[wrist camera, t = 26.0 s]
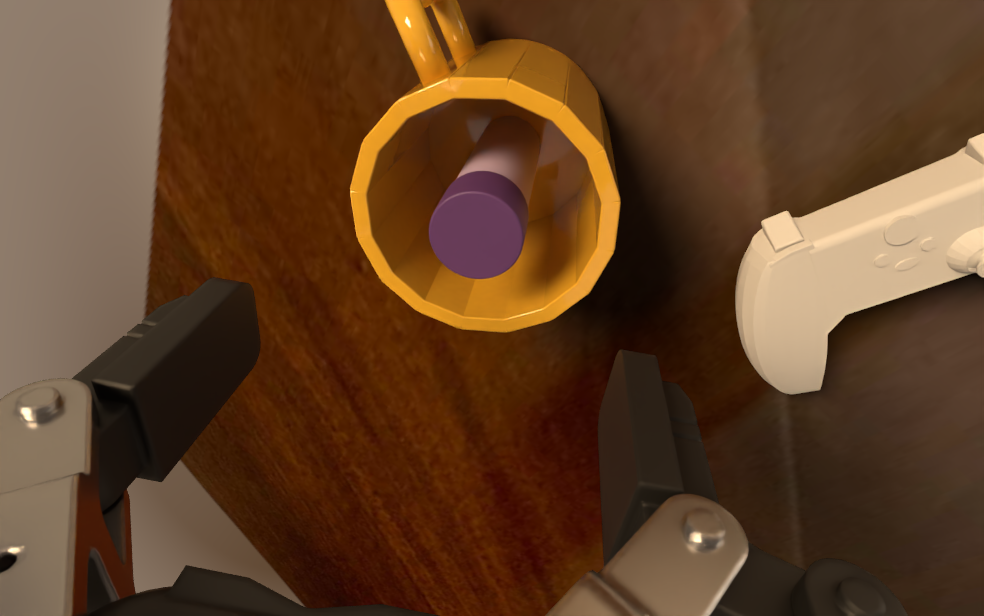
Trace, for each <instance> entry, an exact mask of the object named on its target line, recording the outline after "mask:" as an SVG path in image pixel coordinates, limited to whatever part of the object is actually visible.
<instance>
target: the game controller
mask: <svg viewBox="0 0 984 616" xmlns="http://www.w3.org/2000/svg"><path fill="white" fill-rule="evenodd" d="M761 224H762V229H761V230H760V231H758V232H757V233H756V234H755V236H754V237H753V238H752V240H751V243H750V245H749V247H748V249H747V251H746V252H745V254H744V257H743V260H742V262H741V265H740V268H739V272H738V276H737V283H736V292H735V306H736V317H737V324H738V330H739V335H740V339H741V342H742V345H743V348H744V350H745V353H746V355H747V357H748V359H749V360H750V362H751V364H752V365H753V367H754V368H755V369H756V371H757V372H758V373H759V374H760V376H761V377H762V378H763V379H764V380H765V381H766V382H767V383H769V384H771V385H772V386H774V387H775V388H777V389H778V390H779V391H781V392H783V393H786V394H799V393H805V392H811V391H816V390H820V389H821V385H822V380H823V376H824V372H825V366H826V358H827V339H828V333H829V332H830V331H831V330H832V329H833V328H834V327H835V326H836V325H837V324H838V323H839V322H840V321H841V320H842V319H843V318H844V316H845V315H847V314H850V313H853V312H856V311H860V310H863V309H866V308H869V307H872V306H875V305H878V304H881V303H884V302H887V301H890V300H893V299H896V298H899V297H902V296H905V295H908V294H911V293H914V292H917V291H920V290H924V289H927V288H930V287H933V286H936V285H939V284H942V283H945V282H948V281H951V280H954V279H957V278H960V277H963V276H966V275H969V274H972V273H977V274H978V275H979V276H981V277H984V133H983V134H980V135H978V136H975V137H973V138H970V139H969V140H968V143H967V146H966V147H964V148H962V149H961V150H960V151H958V152H957V153H956V154H954V155H952V156H949V157H947V158H944V159H942V160H940V161H937V162H935V163H932V164H930V165H927V166H925V167H923V168H920V169H918V170H915V171H913V172H910V173H908V174H905V175H903V176H901V177H898V178H896V179H893V180H891V181H888V182H886V183H884V184H881V185H879V186H876V187H874V188H871V189H869V190H866V191H864V192H862V193H859V194H857V195H854V196H852V197H849V198H847V199H845V200H842V201H840V202H837V203H835V204H832V205H830V206H827V207H825V208H823V209H820V210H818V211H815V212H813V213H810V214H808V215H806V216H803V217H801V218H792V217H791V215H790V213H789V212H788V211H784V212H782V213H779V214H777V215H774V216H772V217H770V218H767V219H765V220H762V221H761Z"/></svg>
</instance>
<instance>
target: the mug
mask: <svg viewBox="0 0 984 616" xmlns="http://www.w3.org/2000/svg"><path fill="white" fill-rule="evenodd" d="M385 3H386V5H387V7H388V9H389V12H390V14H391V16H392V18H393V20H394V23H395V25H396V27H397V29H398V32H399V34H400V36H401V38H402V41H403V43H404V45H405V47H406V49H407V52H408V54H409V56H410V58H411V61H412V63H413V65H414V67H415V70H416V72H417V74H418V76H419V78H420V81H421V83H420V84H418V85H417V86H416V87H414V88H413V89H412V90H410V91H409V92H408V93H406V94H405V95H404V96H402V97H401V98H400V99H399V100H397V101H396V102H395V103H394V104H393V105H392V106H391V108H390V109H389V110H388V111H387V112H386V114H385V115H384V116H383V117H382V118H381V119H380V121H379V122H378V123H377V124H376V125H375V127H374V128H373V129H372V130H371V131H370V132H369V134H368V135H367V136H366V137H365V138H364V141H363V142H362V145H361V148H360V152H359V156H358V160H357V163H356V167H355V171H354V175H353V178H352V182H351V186H350V196H351V202H352V209H353V216H354V222H355V229H356V235H357V238H358V241H359V243H360V245H361V246H362V248H363V250H364V252H365V253H366V255H367V257H368V259H369V260H370V262H371V264H372V266H373V267H374V269H375V271H376V273H377V274H378V276H379V278H380V279H382V282H383V283H385V284H386V285H387V286H388V287H389V288H390V289H392V290H393V291H394V292H395V293H396V294H397V295H398V296H400V297H401V298H402V299H403V300H404V301H405V302H407V303H408V304H409V305H410V306H411V307H412V308H414V309H415V310H416V311H417V310H418V312H420V313H422V314H425V315H427V316H429V317H432V318H434V319H437V320H439V321H442V322H444V323H446V324H449V325H451V326H454V327H456V328H459V329H460V328H461V329H463V330H477V331H491V332H511V331H515V330H519V329H522V328H526V327H530V326H534V325H537V324H541V323H545V322H548V321H551V320H553V319H555V318H556V317H557V316H559V315H560V314H562V313H563V312H564V311H566V310H567V309H568V308H570V307H571V306H573V305H574V304H575V303H577V302H578V301H579V300H581V299H582V298H584V297H585V296H586V295H588V294H589V292H590V291H591V290H592V288H593V287H594V285H595V283H596V282H597V280H598V279H599V277H600V275H601V274H602V272H603V270H604V269H605V267H606V265H607V264H608V262H609V260H610V259H611V257H612V255H613V254H614V250H615V246H616V238H617V230H618V222H619V213H620V205H621V201H620V193H619V187H618V181H617V175H616V169H615V163H614V157H613V151H612V145H611V139H610V133H609V128H608V124H607V121H606V118H605V115H604V110H603V106H602V104H601V101H600V98H599V95H598V92H597V91H596V89H595V88H594V86H593V84H592V83H591V81H590V80H589V79H588V77H587V76H586V75H585V73H584V72H583V71H582V70H581V69H580V68H579V67H578V66H577V65H576V64H575V63H574V62H573V61H572V60H570V59H569V58H568V57H566V56H565V55H564V54H562V53H560V52H558V51H557V50H555V49H553V48H551V47H548V46H546V45H543V44H541V43H537V42H533V41H529V40H520V39H504V40H496V41H491V42H490V41H489V42H487V43H484V44H481V45H479V46H476V47H475V45H474V42H473V39H472V37H471V34H470V32H469V29H468V27H467V24H466V22H465V19H464V16H463V14H462V11H461V9H460V6H459V4H458V1H457V0H385ZM429 6H431V7H432V9H433V11H434V14H435V16H436V19H437V21H438V24H439V26H440V28H441V31H442V33H443V36H444V38H445V40H446V43H447V45H448V48H449V50H450V52H451V55H452V57H453V59H451V60H450V61H449V62H446V59H445V57H444V55H443V52H442V50H441V48H440V45H439V43H438V40H437V38H436V36H435V33H434V31H433V29H432V26H431V24H430V21H429V19H428V17H427V14H426V12H425V9H424V8H426V7H429ZM504 116H515V117H519V118H522V119H524V120H526V121H527V122H528V123H530V124H531V125H532V126H533V128H534V129H535V130H536V132H537V134H538V136H539V140H540V154H539V159H538V164H537V168H536V173H535V178H534V182H533V187H532V192H531V196H530V201H529V206H528V211H529V218H528V225H527V230H526V234H525V239H524V244H523V248H522V252H521V254H520V256H519V258H518V260H517V261H516V262H515V264H514V265H513V266H512V267H511V268H510V269H508V270H507V271H506V272H504V273H502V274H500V275H498V276H495V277H492V278H487V279H472V278H467V277H464V276H461V275H458V274H456V273H454V272H453V271H451V270H450V269H448V268H447V267H446V266H445V265H444V264H443V263H442V262H441V261H440V260H439V259H438V258H437V256H436V254H435V253H434V251H433V249H432V246H431V243H430V239H429V223H430V220H431V217H432V214H433V212H434V210H435V209H436V207H437V205H438V204H439V202H440V200H441V199H442V197H443V195H444V193H445V192H446V190H447V189H448V187H449V186H450V185H451V184H452V182H454V181H455V180H456V179H457V177H458V175H459V173H460V172H461V170H462V168H463V166H464V165H465V163H466V161H467V160H468V158H469V156H470V154H471V153H472V151H473V149H474V147H475V146H476V144H477V142H478V140H479V139H480V137H481V135H482V133H483V132H484V130H485V128H486V127H487V126H488V125H489V124H490V123H491V122H492V121H494V120H496V119H498V118H500V117H504Z"/></svg>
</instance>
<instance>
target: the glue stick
mask: <svg viewBox="0 0 984 616" xmlns="http://www.w3.org/2000/svg"><path fill="white" fill-rule="evenodd" d="M539 154H540V140H539V136H538V134H537V132H536V130H535V129H534V128H533V126H532V125H531V124H530V123H528V122H527V121H526V120H524V119H522V118H519V117H515V116H504V117H500V118H498V119H496V120H494V121H492V122H491V123H490V124H489V125H488V126H487V127H486V128H485V130H484V132H483V133H482V135H481V137H480V139H479V140H478V142H477V144H476V146H475V147H474V149H473V151H472V153H471V154H470V156H469V158H468V160H467V161H466V163H465V165H464V166H463V168H462V170H461V172H460V173H459V175H458V177H457V179H456V180H455V181H454V182H452V184H451V185H450V186H449V187H448V189H447V190H446V192H445V193H444V195H443V197H442V199H441V200H440V202H439V204H438V205H437V207H436V209H435V210H434V212H433V214H432V217H431V220H430V223H429V239H430V243H431V246H432V249H433V251H434V253H435V254H436V256H437V258H438V259H439V260H440V261H441V262H442V263H443V264H444V265H445V266H446V267H447V268H448V269H450V270H451V271H453V272H454V273H456V274H458V275H461V276H464V277H467V278H472V279H487V278H492V277H495V276H498V275H500V274H502V273H504V272H506V271H507V270H508V269H510V268H511V267H512V266H513V265H514V264H515V262H516V261H517V260H518V258H519V256H520V254H521V252H522V248H523V244H524V239H525V234H526V230H527V225H528V218H529V211H528V206H529V201H530V196H531V192H532V187H533V182H534V178H535V173H536V168H537V164H538V159H539Z"/></svg>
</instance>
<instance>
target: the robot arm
mask: <svg viewBox="0 0 984 616" xmlns="http://www.w3.org/2000/svg"><path fill="white" fill-rule="evenodd" d="M259 351H260V334H259V327H258V319H257V312H256V305H255V297H254V291H253V288H252V287H251V285H250V284H248V283H244V282H238V281H232V280H226V279H221V278H215V277H214V278H210V279H208V280H207V281H206V282H205V283H204V284H202V285H201V286H200V287H199V288H198V289H197V290H195V291H194V292H193V293H192V294H191V295H190V296H185V295H184V296H182V297H179V298H177V299H175V300H173V301H170V302H168V303H166V304H164V305H162V306H159V307H158V308H157V309H156V310H155V311H153V312H152V313H151V314H150V315H148V316H147V317H146V318H145V319H144V320H142V324H138V325H137V326H135V327H134V328H133V329H132V330H130V331H129V332H128V333H127V336H123V337H122V338H121V339H119V340H118V341H117V342H116V343H114V344H113V345H112V346H111V347H110V348H108V349H107V350H106V351H105V352H103V353H102V354H101V355H100V356H99V357H97V358H96V359H95V360H94V361H93V362H91V363H90V364H89V365H88V366H87V367H85V368H84V369H83V370H82V371H81V372H79V373H78V374H77V375H76V376H74V377H73V378H72V379H65V378H58V379H49V380H43V381H39V382H34V383H32V384H28V385H26V386H23V387H21V388H18V389H16V390H14V391H12V392H11V393H9V394H7V395H6V396H4V397H3V398H1V399H0V616H438V615H433V614H428V613H423V612H418V611H413V610H408V609H403V608H398V607H393V606H388V605H383V604H378V605H363V606H347V607H332V608H316V609H313V608H306V607H303V606H301V605H299V604H297V603H295V602H293V601H292V600H290V599H288V598H286V597H284V596H282V595H280V594H278V593H277V592H274V591H273V590H271V589H269V588H267V587H265V586H263V585H262V584H260V583H258V582H256V581H254V580H252V579H250V578H247V577H242V576H237V575H232V574H227V573H222V572H217V571H212V570H207V569H202V568H197V567H192V566H187V565H186V566H185V568H184V570H183V571H182V572H181V574H180V576H179V577H178V579H177V580H176V582H175V583H174V585H173V586H172V587H163V588H158V589H152V590H147V591H144V592H140V593H137V594H136V593H135V587H134V582H133V581H134V580H133V563H132V542H131V521H130V499H129V494H128V492H127V488H128V486H129V485H130V484H131V483H132V482H133V481H134V480H135V478H136V477H137V478H142V479H147V480H153V481H158V482H162V481H163V480H164V479H165V477H166V476H167V475H168V474H169V472H170V471H171V470H172V469H173V467H174V466H175V465H176V464H177V462H178V461H179V460H180V459H181V457H182V456H183V455H184V454H185V452H186V451H187V450H188V449H189V447H190V446H191V445H192V444H193V442H194V441H195V440H196V439H197V437H198V436H199V435H200V434H201V432H202V431H203V430H204V429H205V427H206V426H207V425H208V424H209V422H210V421H211V420H212V419H213V417H214V416H215V415H216V414H217V412H218V411H219V410H220V409H221V407H222V406H223V405H224V404H225V402H226V401H227V400H228V399H229V397H230V396H231V395H232V394H233V392H234V391H235V390H236V389H237V387H238V386H239V385H240V384H241V382H242V381H243V380H244V379H245V377H246V376H247V375H248V374H249V372H250V371H251V370H252V369H253V367H254V365H255V364H256V361H257V359H258V356H259ZM598 446H599V468H600V490H601V511H602V533H603V554H604V568H603V569H602V570H601V571H600V572H598V573H596V572H595V571H593V570H592V571H589V572H588V573H586V574H585V575H584V576H583V577H582V578H580V579H579V580H578V581H577V583H576V584H575V585H574V586H573V587H572V588H571V589H570V590H569V591H568V592H567V593H566V594H565V595H564V596H563V597H562V598H561V599H560V601H559V602H558V603H557V604H556V605H555V606H554V607H553V608H552V609H551V610H550V611H549V612H548V613H547V614H546V615H545V616H908V615H907V613H906V611H905V609H904V607H903V606H902V604H901V603H900V601H899V600H898V599H897V597H896V596H895V595H894V594H893V593H892V592H891V590H890V589H889V588H887V587H886V586H885V585H884V584H883V583H882V582H881V581H880V580H879V579H877V578H876V577H875V576H873V575H872V574H870V573H869V572H867V571H866V570H864V569H862V568H860V567H859V566H857V565H854V564H852V563H850V562H847V561H843V560H839V559H833V558H825V559H820V560H818V561H815V562H814V563H813V564H811V565H810V566H809V568H808V569H807V570H806V571H805V570H803V569H800V568H798V567H796V566H794V565H792V564H790V563H788V562H785V561H783V560H781V559H779V558H777V557H775V556H773V555H770V554H768V553H766V552H764V551H762V550H760V549H759V548H757V547H755V546H754V545H752V544H751V543H749V542H748V540H747V537H746V534H745V532H744V530H743V528H742V527H741V525H740V524H739V522H738V521H737V520H736V519H735V517H734V516H733V515H732V514H731V513H730V512H728V511H727V510H726V509H725V508H723V507H722V506H721V505H719V502H718V498H717V494H716V491H715V487H714V483H713V479H712V476H711V472H710V468H709V464H708V460H707V457H706V453H705V449H704V445H703V442H701V434H700V430H699V426H697V419H696V415H695V411H694V407H693V404H692V402H691V400H690V399H689V398H688V396H687V395H686V394H685V393H684V391H683V390H682V389H681V387H680V386H679V385H678V384H677V383H671V382H665V381H662V380H661V375H660V370H659V365H658V360H657V357H656V356H655V355H650V354H644V353H638V352H632V351H627V350H621V349H620V350H619V351H618V353H617V356H616V358H615V362H614V365H613V368H612V371H611V375H610V378H609V381H608V384H607V388H606V391H605V394H604V397H603V401H602V404H601V408H600V413H599V421H598Z"/></svg>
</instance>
